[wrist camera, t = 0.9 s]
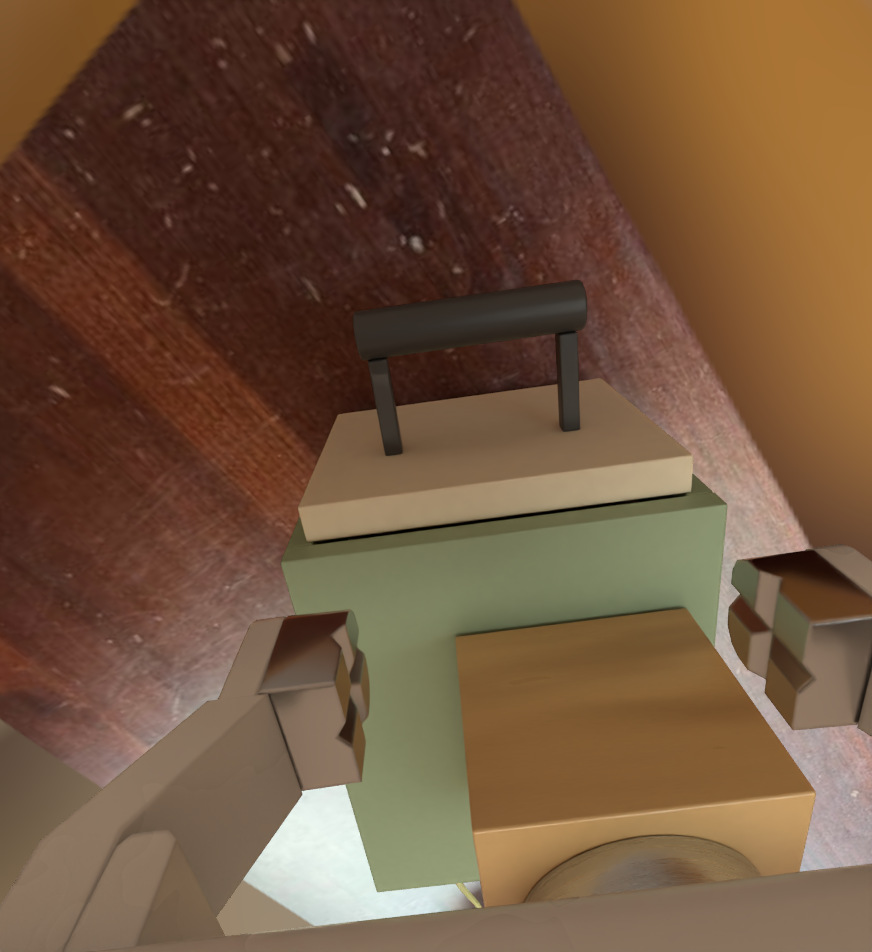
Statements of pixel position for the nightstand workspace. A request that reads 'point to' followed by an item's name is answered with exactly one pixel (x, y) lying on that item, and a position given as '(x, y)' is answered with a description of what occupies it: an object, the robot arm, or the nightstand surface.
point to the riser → (617, 749)
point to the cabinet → (476, 612)
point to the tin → (643, 867)
